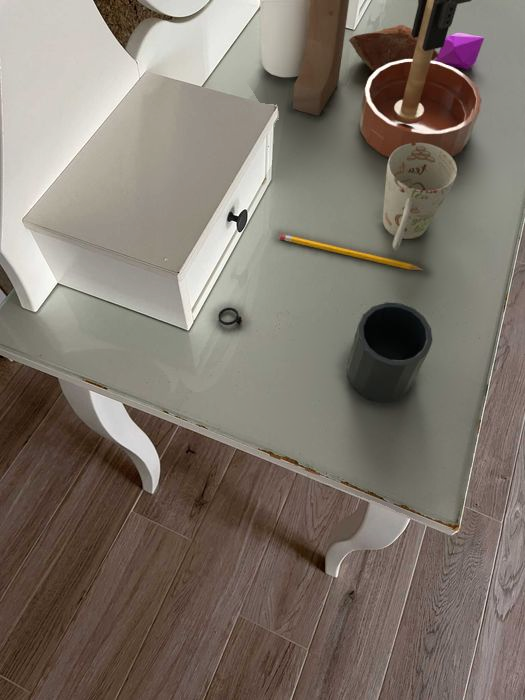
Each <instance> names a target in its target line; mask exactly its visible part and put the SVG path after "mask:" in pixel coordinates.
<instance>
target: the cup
mask: <svg viewBox="0 0 525 700" xmlns="http://www.w3.org/2000/svg"><path fill="white" fill-rule="evenodd" d="M259 5H260V6H259V7H260V8H259V25H260V27H259V28H260V29H259V31H260V33H259V34H260V52H261V65H262V67H263V68H264V69H265V71H266V72H268V73H269V74H271V75H272V76H276V77H280V78H294V77H298V76H299V74H300V73H301V69H302V66H303V62H304V59H305V54H306V47H307V39H308V25H309V12H310V0H260V4H259Z"/></svg>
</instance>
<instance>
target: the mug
mask: <svg viewBox="0 0 525 700" xmlns="http://www.w3.org/2000/svg"><path fill="white" fill-rule="evenodd" d="M457 173H458V168H457V164H456V161H455V160H454V158H453V157H451V156H450V155H449V154H448V153H447V152H445V151H444V150H442V149H441V148H439V147H436V146H434V145H430V144H426V143H411V144H406V145H403V146H401V147H399V148H397V149H396V150H395V151H394V152H393V153H392V154H391V156H390V158H389V157H388V161H387V165H386V175H385V185H384V186H385V187H384V200H383V210H382V211H383V212H382V224H383V226H384V228H385V230H386V231H387V232H388V233H389V234H391V235H392V236H394V238H393V241H392V248H393V250H396V251H397V250H399V248H400V246H401V243H402V240H403V239H404V240H411V239H416V238H418V237H421V236H422V235H423V234H424V233H426V230H427V229H428V228H429V225H430V223H432V220H433V219H434V217H435V215H436V214H437V212H438V210H439V208H440V207H441V205H442V204H443V202H444V200H445V198H446V196H447V195H448V193H449V191H450V190H451V188H452V187H453V184H454V183H455V180H456V179H457Z"/></svg>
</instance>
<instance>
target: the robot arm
mask: <svg viewBox="0 0 525 700" xmlns="http://www.w3.org/2000/svg"><path fill="white" fill-rule="evenodd" d="M471 1H473V0H434V3H433V7H432V11H431V15H430V19H429V23H428V27H427V31H426V35H425V39H424V43H423V46H422V48H423V50H424V51H428V50H433V49H435V50H437V49H440V48H441V47H443V46H444V43H445V39H446V38H447V37H448V36H447V35H448V32H449V28H450V27H451V26H452V24H453V22H454V18H455V13H456V11H457V7H458V5H460V4H466V3H469V2H471ZM426 3H427V0H417V8H416V13H415V16H414V21H413V25H412V28H411V29H412V33H411V35H412V36H413V37H414V38H415V37H418V36H419V32H420V28H421V24H422V20H423V15H424V11H425V7H426Z"/></svg>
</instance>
